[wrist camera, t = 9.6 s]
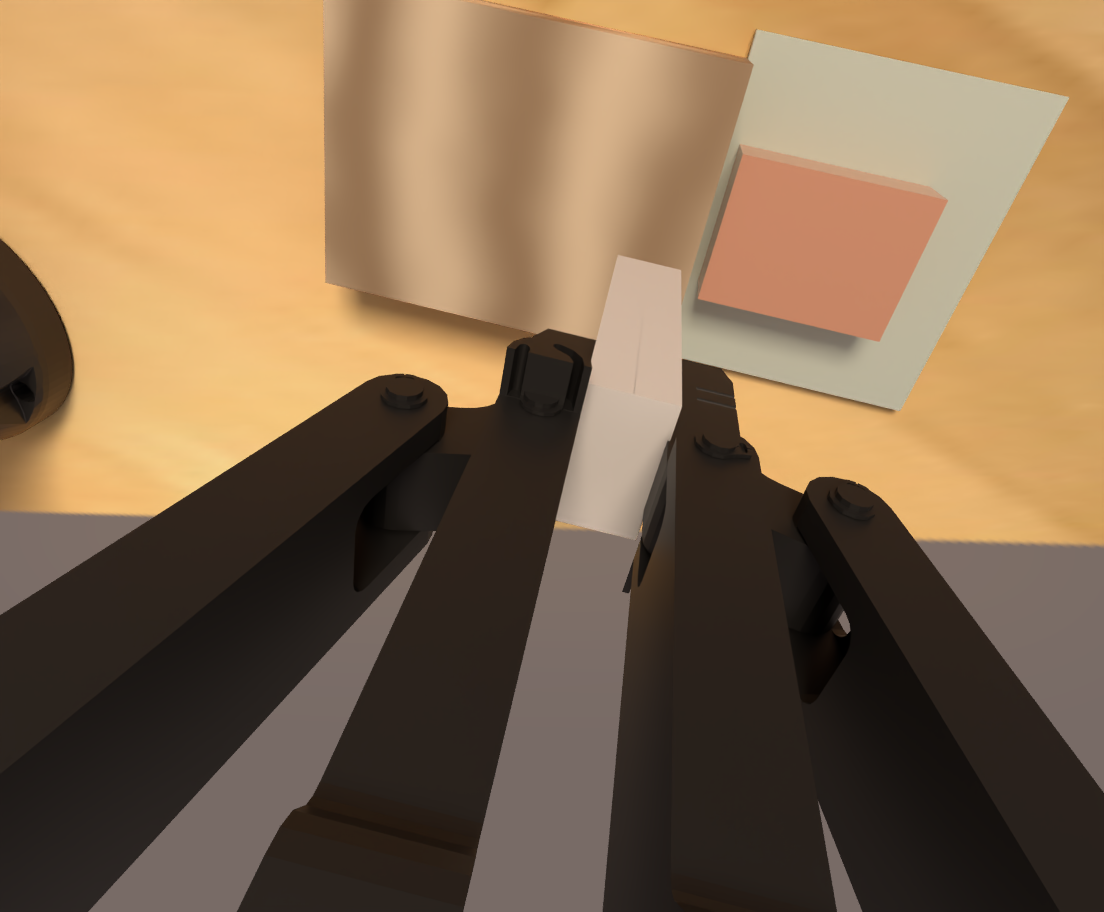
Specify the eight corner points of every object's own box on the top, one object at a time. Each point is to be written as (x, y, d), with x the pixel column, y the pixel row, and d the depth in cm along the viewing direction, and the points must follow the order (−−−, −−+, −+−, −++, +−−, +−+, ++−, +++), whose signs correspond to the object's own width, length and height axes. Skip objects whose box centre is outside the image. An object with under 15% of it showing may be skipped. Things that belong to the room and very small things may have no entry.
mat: (661, 348, 35) (661, 353, 34) (756, 29, 27) (757, 29, 27) (897, 405, 34) (900, 411, 34) (1062, 95, 27) (1069, 97, 26)
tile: (697, 280, 32) (697, 298, 30) (739, 143, 29) (743, 153, 27) (867, 320, 32) (879, 341, 30) (930, 186, 28) (948, 200, 26)
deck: (360, 257, 35) (325, 282, 32) (366, -25, 29) (323, -30, 25) (666, 330, 34) (663, 364, 31) (747, 58, 28) (753, 64, 24)
